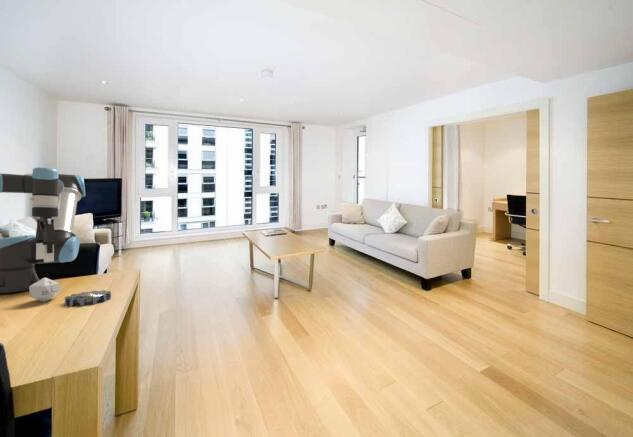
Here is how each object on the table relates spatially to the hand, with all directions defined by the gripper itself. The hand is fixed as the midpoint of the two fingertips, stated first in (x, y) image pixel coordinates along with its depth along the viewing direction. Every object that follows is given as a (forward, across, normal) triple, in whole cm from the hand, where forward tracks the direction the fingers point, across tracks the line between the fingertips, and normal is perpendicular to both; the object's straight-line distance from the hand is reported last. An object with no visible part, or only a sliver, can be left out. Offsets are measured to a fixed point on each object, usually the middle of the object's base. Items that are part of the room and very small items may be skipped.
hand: (44, 260), depth 112 cm
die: (+17, 0, 0) cm, 17 cm away
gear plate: (+17, +12, +11) cm, 23 cm away
